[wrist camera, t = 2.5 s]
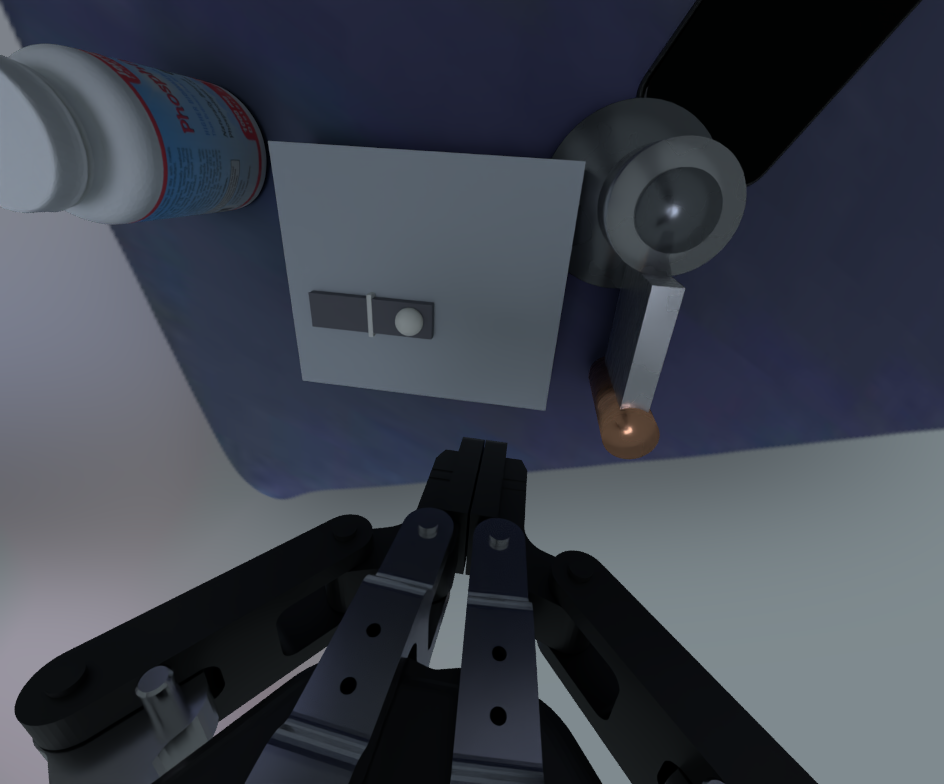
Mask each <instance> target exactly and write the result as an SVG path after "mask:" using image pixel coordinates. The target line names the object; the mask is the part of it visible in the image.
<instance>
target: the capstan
mask: <svg viewBox="0 0 944 784" xmlns="http://www.w3.org/2000/svg"><path fill="white" fill-rule="evenodd" d="M551 159H556V160H572V161H586V164H585V170H584V176H583V182H582V188H581V194H580V201H579V207H578V213H577V219H576V225H575V231H574V237H573V243H572V250H571V256H570V262H569V268H568V272H569V273H570V274H572V275H574V276H575V277H577V278H578V279H580V280H582V281H585V282H587V283H589V284H593V285H596V286H600V287H606V288H620V293H619V297H618V301H617V306H616V310H615V315H614V319H613V324H612V328H611V332H610V337H609V341H608V346H607V350H606V355H605V357H602V358H600V359H598V360H597V361H595V362H594V363H593V365H592V366H591V368H590V370H589V382H590V386H591V391H592V396H593V400H594V405H595V410H596V414H597V419H598V423H599V428H600V433H601V437H602V442H603V445H604V447H605V448H606V450H607V451H608V452H609V453H611V454H612V455H614V456H616V457H619V458H623V459H635V458H639V457H642V456H644V455H646V454H648V453H649V452H651V451H652V450H653V449H654V448H655V446H656V445H657V443H658V441H659V429H658V426H657V424H656V422H655V420H654V417H653V415H652V413H651V410H650V406H651V402H652V399H653V396H654V392H655V389H656V385H657V382H658V379H659V375H660V372H661V369H662V365H663V362H664V359H665V355H666V352H667V349H668V345H669V342H670V338H671V335H672V332H673V328H674V325H675V322H676V318H677V315H678V312H679V308H680V305H681V302H682V298H683V295H684V292H685V288H684V287H683V286H682V285H681V284H680V283H678V282H677V281H676V280H675V279H674V278H672V277H671V276H673V275H678V274H683V273H686V272H688V271H691V270H693V269H696V268H698V267H700V266H701V265H703V264H705V263H706V262H708V261H709V260H710V259H712V258H713V257H714V256H716V255H717V254H718V253H719V252H720V251H721V250H722V249H723V248H724V247H725V245H726V244H727V243H728V242H729V240H730V239H731V238H732V236H733V235H734V233H735V231H736V229H737V227H738V226H739V223H740V221H741V218H742V216H743V212H744V208H745V203H746V181H745V176H744V173H743V170H742V168H741V166H740V163H739V162H738V160H737V159H736V157H735V156H734V154H733V153H732V152H731V151H730V150H729V149H728V148H726V147H725V146H723V145H722V144H721V143H719V142H717V141H715V140H713V139H712V137H711V135H710V134H709V132H708V131H707V129H706V128H705V126H704V125H703V124H702V123H701V122H700V121H699V120H698V119H697V118H696V117H695V116H694V115H693V114H691V113H690V112H689V111H687V110H686V109H684V108H682V107H680V106H678V105H676V104H674V103H671V102H668V101H665V100H661V99H654V98H634V99H628V100H623V101H620V102H617V103H613V104H610V105H608V106H606V107H604V108H602V109H600V110H598V111H596V112H595V113H593V114H591V115H590V116H588V117H587V118H585V119H584V120H583V121H582V122H581V123H579V124H578V125H577V126H576V127H575V128H574V129H573V130H572V131H571V132H570V133H569V134H568V135H567V136H566V138H565V139H564V140H563V142H562V143H561V144H560V146H559V147H558V148H557V150H556V151H555V153H554V155H553V157H552V158H551Z"/></svg>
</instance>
